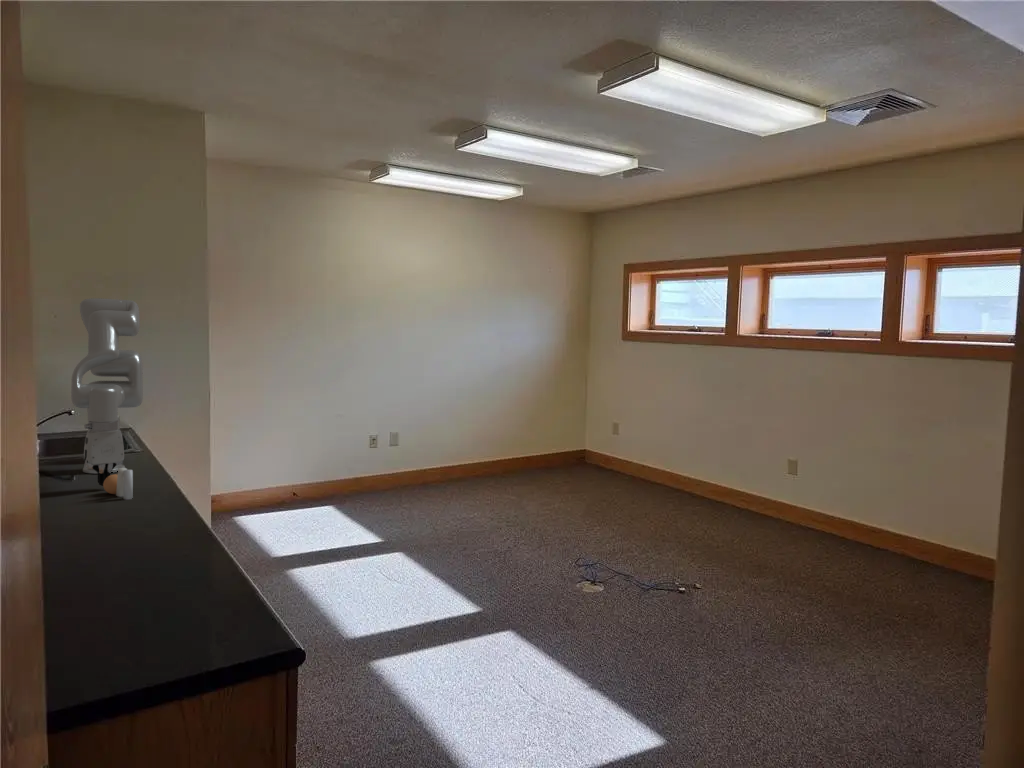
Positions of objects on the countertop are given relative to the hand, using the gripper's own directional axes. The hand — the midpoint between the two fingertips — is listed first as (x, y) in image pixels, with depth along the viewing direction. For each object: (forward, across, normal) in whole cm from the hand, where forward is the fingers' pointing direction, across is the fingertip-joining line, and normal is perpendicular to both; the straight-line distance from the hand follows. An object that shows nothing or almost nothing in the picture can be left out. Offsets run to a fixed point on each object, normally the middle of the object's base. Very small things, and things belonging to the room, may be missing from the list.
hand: (103, 484), depth 207 cm
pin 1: (+1, 0, -11) cm, 11 cm away
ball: (-2, 0, -8) cm, 8 cm away
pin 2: (+2, 0, -16) cm, 16 cm away
